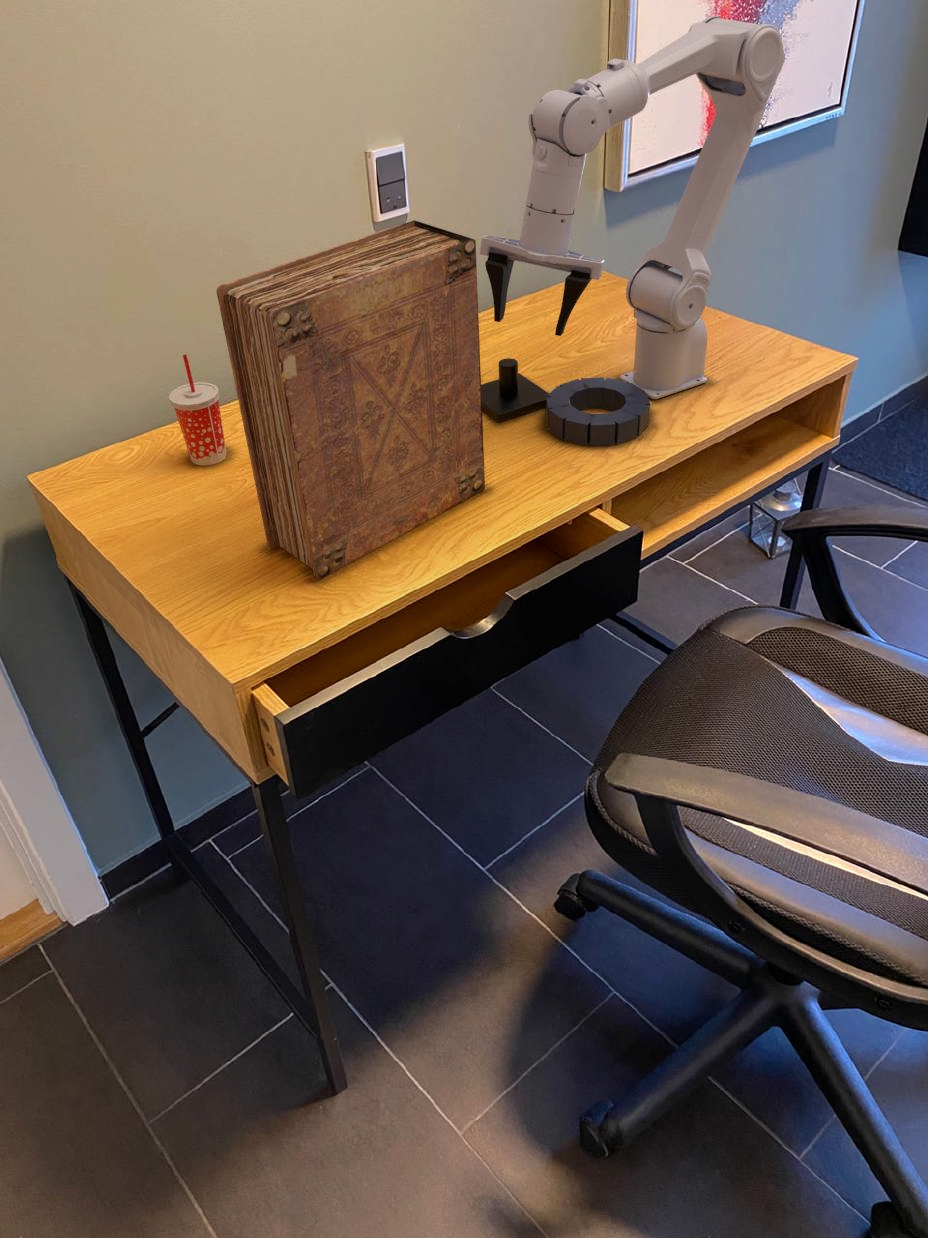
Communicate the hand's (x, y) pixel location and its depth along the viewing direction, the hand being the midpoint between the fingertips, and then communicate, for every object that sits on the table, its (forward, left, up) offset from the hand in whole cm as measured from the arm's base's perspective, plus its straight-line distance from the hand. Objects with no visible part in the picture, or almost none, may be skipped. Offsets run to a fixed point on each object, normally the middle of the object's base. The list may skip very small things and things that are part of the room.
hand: (528, 326), depth 121 cm
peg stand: (-2, -9, -14) cm, 17 cm away
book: (+25, +7, -15) cm, 30 cm away
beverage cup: (+38, -18, -15) cm, 44 cm away
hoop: (-9, +3, -14) cm, 17 cm away
